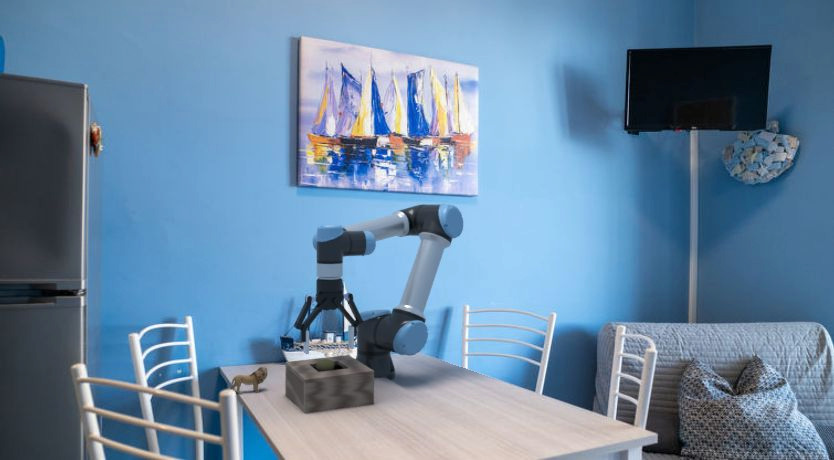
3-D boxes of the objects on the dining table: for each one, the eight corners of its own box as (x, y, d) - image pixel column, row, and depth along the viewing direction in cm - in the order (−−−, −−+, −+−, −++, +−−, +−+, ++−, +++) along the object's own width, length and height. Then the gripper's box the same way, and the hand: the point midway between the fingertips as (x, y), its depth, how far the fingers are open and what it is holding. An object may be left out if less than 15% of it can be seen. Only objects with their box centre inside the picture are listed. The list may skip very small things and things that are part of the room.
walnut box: (348, 386, 173) (348, 354, 173) (373, 405, 155) (374, 370, 155) (285, 395, 164) (285, 362, 163) (304, 417, 146) (305, 379, 146)
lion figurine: (266, 387, 171) (266, 364, 171) (268, 391, 167) (269, 367, 167) (225, 392, 166) (226, 368, 165) (227, 396, 162) (228, 372, 162)
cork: (330, 402, 155) (330, 363, 155) (310, 399, 157) (311, 361, 156) (338, 395, 161) (339, 358, 161) (319, 393, 163) (320, 356, 162)
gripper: (364, 274, 168) (363, 343, 169) (283, 278, 156) (283, 352, 157) (374, 277, 161) (373, 348, 162) (290, 281, 150) (290, 358, 150)
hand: (329, 350), depth 159 cm, fingers open, 13 cm apart
